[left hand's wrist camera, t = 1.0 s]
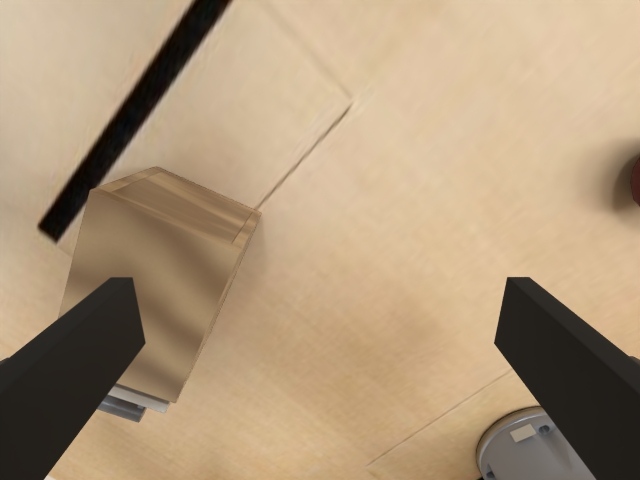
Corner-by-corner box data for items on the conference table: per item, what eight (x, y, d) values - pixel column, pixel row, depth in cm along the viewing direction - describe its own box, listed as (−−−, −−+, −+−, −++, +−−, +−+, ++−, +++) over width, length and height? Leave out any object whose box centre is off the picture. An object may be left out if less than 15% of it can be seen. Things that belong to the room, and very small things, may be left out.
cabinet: (210, 331, 42) (175, 403, 32) (116, 296, 40) (47, 359, 30) (261, 212, 37) (239, 252, 27) (156, 166, 35) (89, 189, 25)
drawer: (181, 387, 44) (147, 454, 35) (99, 358, 42) (44, 421, 34) (241, 245, 37) (218, 285, 29) (147, 205, 36) (93, 235, 27)
